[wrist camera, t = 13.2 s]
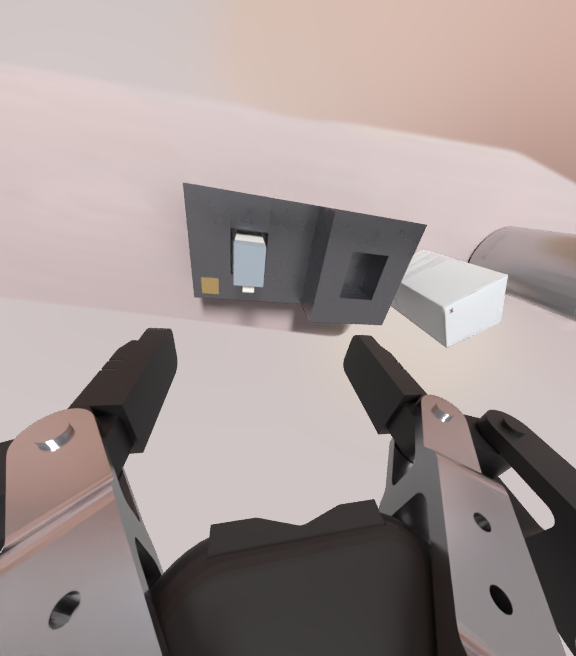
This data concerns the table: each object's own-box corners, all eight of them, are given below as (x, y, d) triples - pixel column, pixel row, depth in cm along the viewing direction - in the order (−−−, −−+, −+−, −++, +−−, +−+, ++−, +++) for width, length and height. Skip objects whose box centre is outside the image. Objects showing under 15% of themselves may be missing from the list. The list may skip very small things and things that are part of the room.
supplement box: (388, 306, 37) (444, 350, 26) (380, 270, 33) (443, 306, 22) (428, 286, 36) (502, 323, 26) (425, 247, 32) (511, 273, 21)
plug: (261, 233, 26) (266, 247, 19) (258, 271, 29) (262, 294, 22) (237, 230, 25) (233, 243, 19) (236, 269, 28) (233, 292, 21)
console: (379, 216, 28) (427, 224, 21) (352, 296, 35) (381, 325, 27) (192, 184, 23) (166, 179, 16) (200, 285, 29) (184, 316, 22)
